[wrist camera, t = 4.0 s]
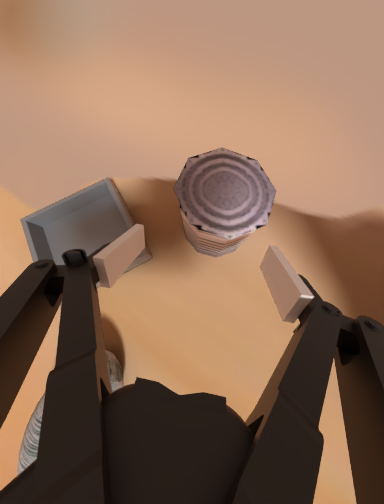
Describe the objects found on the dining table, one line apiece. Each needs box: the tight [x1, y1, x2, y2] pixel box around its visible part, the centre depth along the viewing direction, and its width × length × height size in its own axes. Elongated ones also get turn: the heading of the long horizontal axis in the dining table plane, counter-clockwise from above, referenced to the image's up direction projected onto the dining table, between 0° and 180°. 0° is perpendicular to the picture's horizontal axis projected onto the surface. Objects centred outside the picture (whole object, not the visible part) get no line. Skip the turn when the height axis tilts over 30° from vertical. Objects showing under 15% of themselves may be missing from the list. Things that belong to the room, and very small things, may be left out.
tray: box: [20, 177, 153, 306], centre depth 26 cm, size 17×17×4 cm
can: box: [173, 148, 276, 257], centre depth 22 cm, size 11×11×12 cm
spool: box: [17, 350, 124, 475], centre depth 19 cm, size 14×10×10 cm
